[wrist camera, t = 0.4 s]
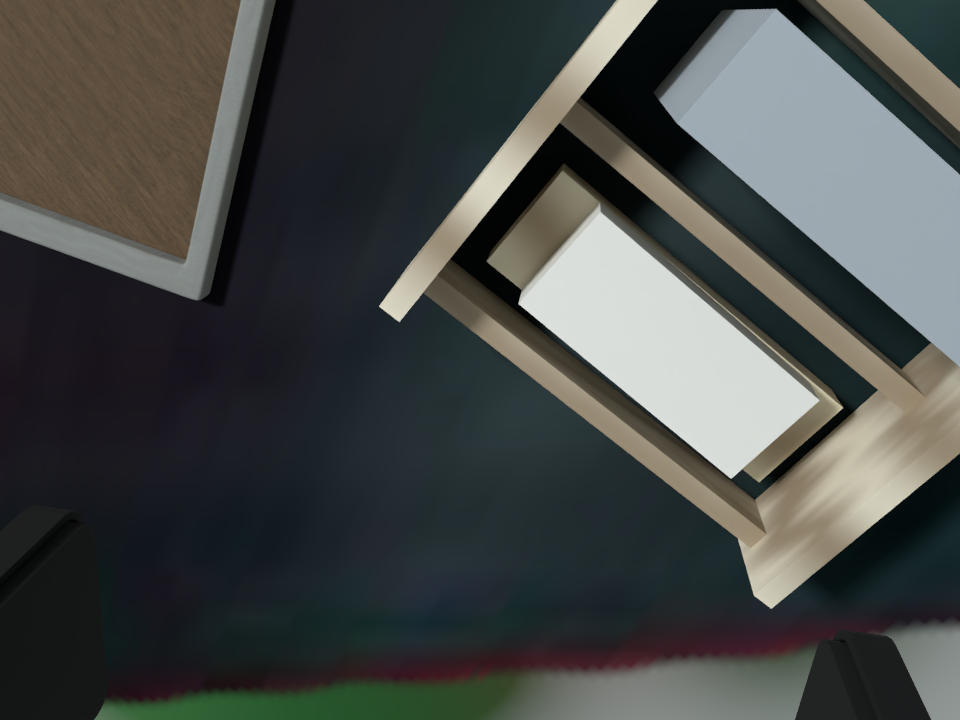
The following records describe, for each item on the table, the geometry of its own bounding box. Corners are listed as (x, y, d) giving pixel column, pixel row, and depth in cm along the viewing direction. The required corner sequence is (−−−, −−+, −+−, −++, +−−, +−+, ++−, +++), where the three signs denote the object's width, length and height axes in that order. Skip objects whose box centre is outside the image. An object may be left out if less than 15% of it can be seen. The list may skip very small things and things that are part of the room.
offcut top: (600, 201, 36) (600, 212, 34) (808, 381, 38) (819, 400, 36) (521, 289, 38) (518, 303, 36) (724, 457, 39) (731, 478, 38)
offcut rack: (719, -132, 33) (745, -161, 27) (1101, 221, 36) (1195, 259, 30) (408, 265, 40) (379, 306, 34) (747, 531, 43) (771, 608, 37)
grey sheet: (721, 10, 35) (776, 8, 24) (970, 231, 36) (1116, 316, 26) (653, 92, 36) (677, 123, 26) (895, 301, 38) (1006, 407, 28)
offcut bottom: (564, 161, 38) (562, 171, 36) (828, 385, 40) (843, 407, 38) (492, 246, 40) (486, 261, 37) (749, 456, 42) (758, 482, 40)
